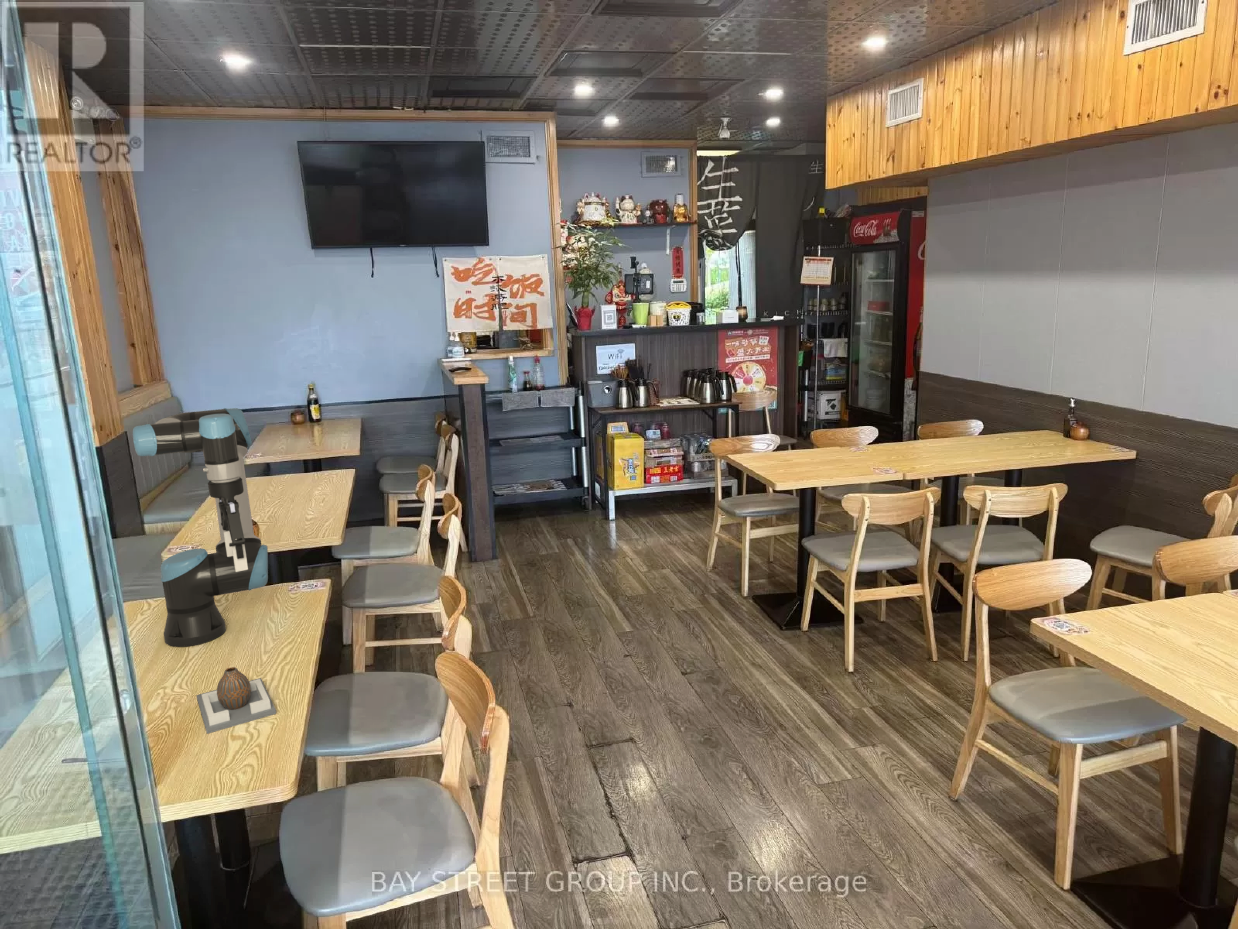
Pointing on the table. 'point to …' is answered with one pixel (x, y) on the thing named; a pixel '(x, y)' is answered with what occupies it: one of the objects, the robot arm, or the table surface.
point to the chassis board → (225, 718)
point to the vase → (233, 689)
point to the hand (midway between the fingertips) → (237, 562)
